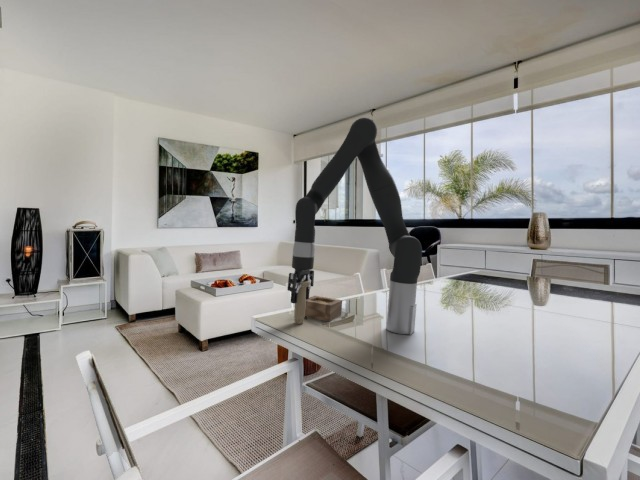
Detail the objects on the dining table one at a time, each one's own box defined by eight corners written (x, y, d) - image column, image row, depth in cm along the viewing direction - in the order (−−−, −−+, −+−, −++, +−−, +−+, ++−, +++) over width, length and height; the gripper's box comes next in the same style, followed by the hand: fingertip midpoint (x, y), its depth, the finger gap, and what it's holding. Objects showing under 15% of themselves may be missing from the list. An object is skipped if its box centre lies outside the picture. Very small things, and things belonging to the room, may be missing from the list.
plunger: (333, 305, 130) (334, 302, 130) (327, 308, 124) (327, 305, 124) (317, 302, 133) (317, 299, 133) (310, 305, 127) (310, 302, 127)
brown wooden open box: (341, 315, 131) (342, 300, 131) (329, 321, 121) (330, 305, 121) (314, 310, 136) (315, 295, 136) (301, 315, 127) (302, 300, 126)
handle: (297, 326, 113) (300, 282, 112) (288, 321, 118) (291, 279, 118) (309, 324, 116) (312, 282, 115) (300, 319, 121) (302, 279, 120)
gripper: (302, 257, 108) (299, 306, 109) (321, 255, 121) (318, 299, 121) (283, 254, 111) (279, 302, 112) (303, 253, 124) (300, 296, 125)
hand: (300, 300), depth 117 cm, fingers open, 8 cm apart
